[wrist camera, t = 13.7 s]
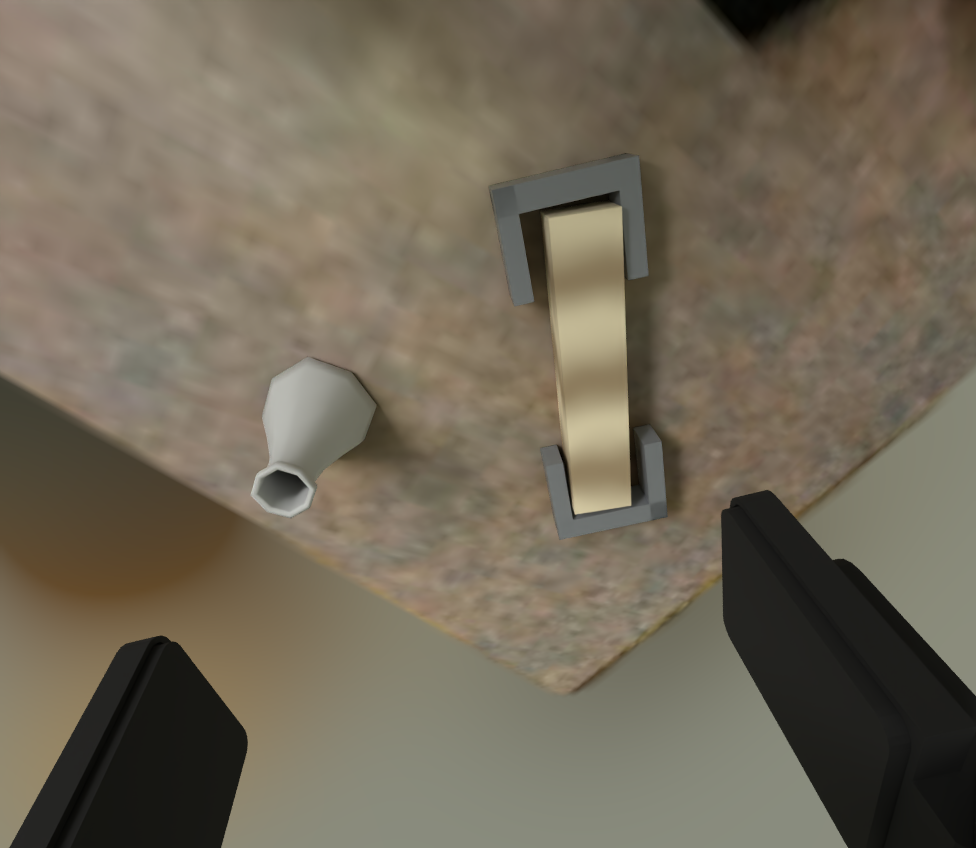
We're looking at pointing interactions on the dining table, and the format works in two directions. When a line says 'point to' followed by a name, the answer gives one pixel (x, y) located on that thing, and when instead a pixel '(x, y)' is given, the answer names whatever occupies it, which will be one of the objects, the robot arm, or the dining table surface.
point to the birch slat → (590, 350)
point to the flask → (308, 431)
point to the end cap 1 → (565, 187)
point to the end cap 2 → (644, 507)
